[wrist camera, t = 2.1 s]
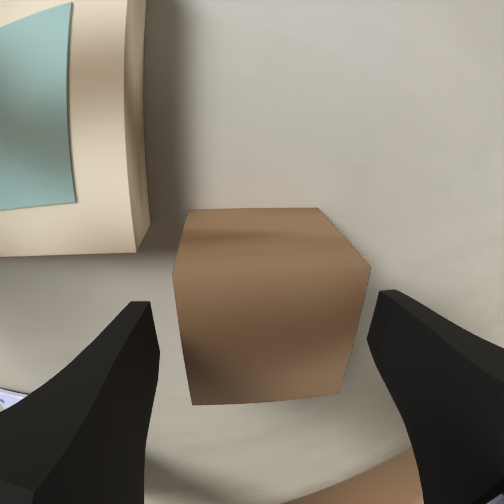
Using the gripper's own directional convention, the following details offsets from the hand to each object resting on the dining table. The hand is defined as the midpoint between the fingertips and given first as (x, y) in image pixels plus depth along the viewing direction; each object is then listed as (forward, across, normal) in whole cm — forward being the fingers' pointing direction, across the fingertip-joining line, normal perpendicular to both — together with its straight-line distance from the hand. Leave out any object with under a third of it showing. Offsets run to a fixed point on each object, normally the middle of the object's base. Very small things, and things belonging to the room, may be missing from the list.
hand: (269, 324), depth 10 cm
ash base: (+4, +9, -7) cm, 12 cm away
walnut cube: (+4, 0, 0) cm, 4 cm away
